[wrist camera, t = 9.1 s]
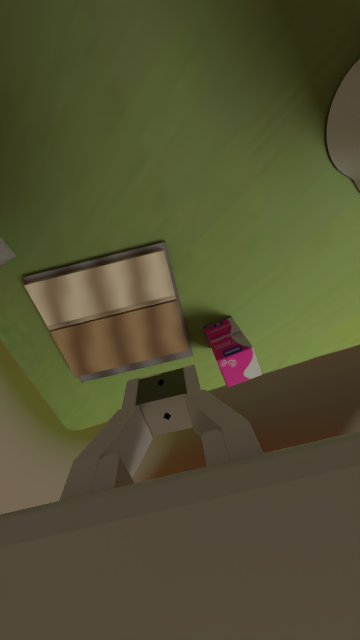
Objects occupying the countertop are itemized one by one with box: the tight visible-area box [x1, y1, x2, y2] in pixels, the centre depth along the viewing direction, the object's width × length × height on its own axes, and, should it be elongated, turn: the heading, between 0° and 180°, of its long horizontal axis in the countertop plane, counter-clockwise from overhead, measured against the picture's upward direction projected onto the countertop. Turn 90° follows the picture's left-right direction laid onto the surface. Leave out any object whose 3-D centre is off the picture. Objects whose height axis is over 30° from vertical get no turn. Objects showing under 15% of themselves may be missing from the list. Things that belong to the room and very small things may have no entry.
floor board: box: [23, 241, 193, 382], centre depth 38 cm, size 23×22×3 cm
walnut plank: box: [50, 299, 189, 377], centre depth 39 cm, size 22×10×2 cm, turn 103°
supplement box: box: [204, 316, 262, 387], centre depth 38 cm, size 6×6×12 cm
